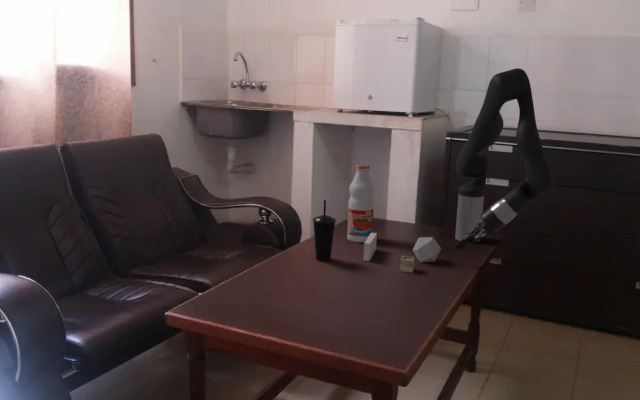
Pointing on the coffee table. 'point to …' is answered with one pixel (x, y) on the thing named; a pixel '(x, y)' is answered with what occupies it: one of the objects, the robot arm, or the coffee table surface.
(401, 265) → the letter block
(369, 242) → the rail
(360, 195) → the fruit juice
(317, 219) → the drinking cup
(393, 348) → the coffee table surface
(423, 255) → the die
